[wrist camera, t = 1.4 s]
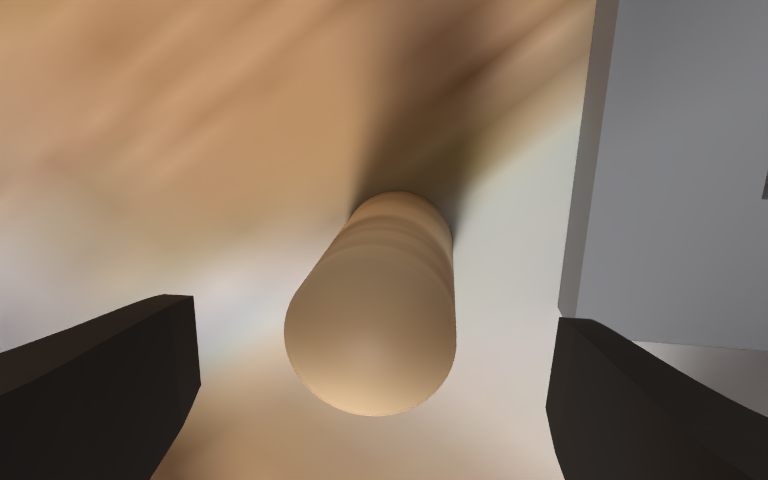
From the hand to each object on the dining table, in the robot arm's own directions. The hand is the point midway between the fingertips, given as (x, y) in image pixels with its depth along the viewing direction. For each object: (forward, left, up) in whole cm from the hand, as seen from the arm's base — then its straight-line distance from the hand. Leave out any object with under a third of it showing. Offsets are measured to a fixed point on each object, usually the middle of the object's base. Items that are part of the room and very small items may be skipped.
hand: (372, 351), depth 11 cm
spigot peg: (-1, 0, -10) cm, 10 cm away
